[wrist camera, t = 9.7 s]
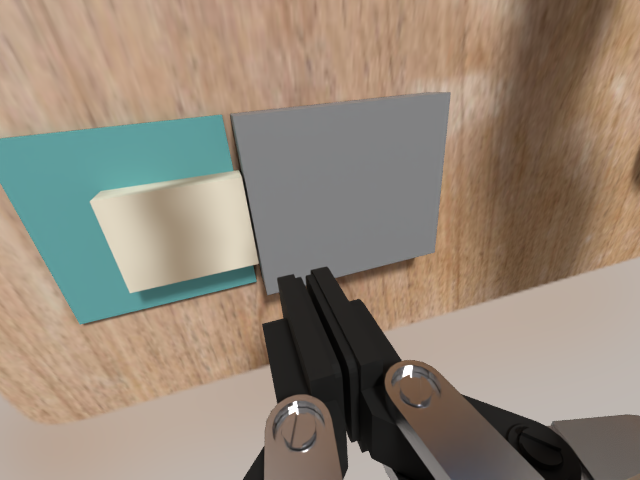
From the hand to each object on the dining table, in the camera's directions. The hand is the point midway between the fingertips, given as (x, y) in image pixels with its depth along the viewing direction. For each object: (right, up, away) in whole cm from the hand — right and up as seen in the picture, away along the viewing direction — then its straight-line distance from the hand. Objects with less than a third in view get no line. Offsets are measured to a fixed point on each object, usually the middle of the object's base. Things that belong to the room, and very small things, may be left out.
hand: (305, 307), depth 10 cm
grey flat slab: (+2, +6, +13) cm, 15 cm away
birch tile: (-8, +3, +10) cm, 14 cm away
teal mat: (-11, +3, +10) cm, 15 cm away
